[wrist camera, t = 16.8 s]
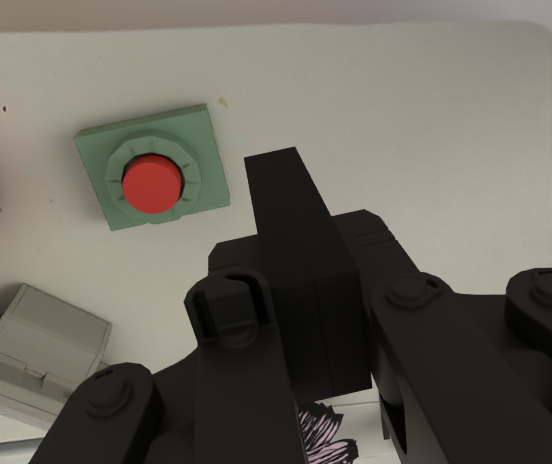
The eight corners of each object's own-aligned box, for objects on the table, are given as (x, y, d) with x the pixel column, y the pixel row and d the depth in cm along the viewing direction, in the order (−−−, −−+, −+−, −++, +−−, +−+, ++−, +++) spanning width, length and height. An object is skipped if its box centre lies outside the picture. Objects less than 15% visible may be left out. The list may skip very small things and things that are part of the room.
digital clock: (-56, 310, 42) (-133, 403, 32) (6, 249, 40) (-57, 330, 30) (90, 396, 49) (61, 493, 39) (149, 348, 46) (134, 439, 37)
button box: (206, 103, 36) (205, 115, 32) (229, 194, 40) (231, 214, 36) (80, 130, 36) (65, 145, 32) (116, 219, 40) (106, 242, 36)
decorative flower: (187, 433, 39) (365, 467, 37) (223, 321, 47) (370, 344, 45) (205, 490, 49) (346, 519, 47) (232, 389, 57) (352, 410, 55)
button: (172, 149, 34) (170, 157, 32) (187, 198, 36) (186, 207, 34) (118, 161, 34) (114, 169, 32) (136, 209, 35) (133, 219, 34)
